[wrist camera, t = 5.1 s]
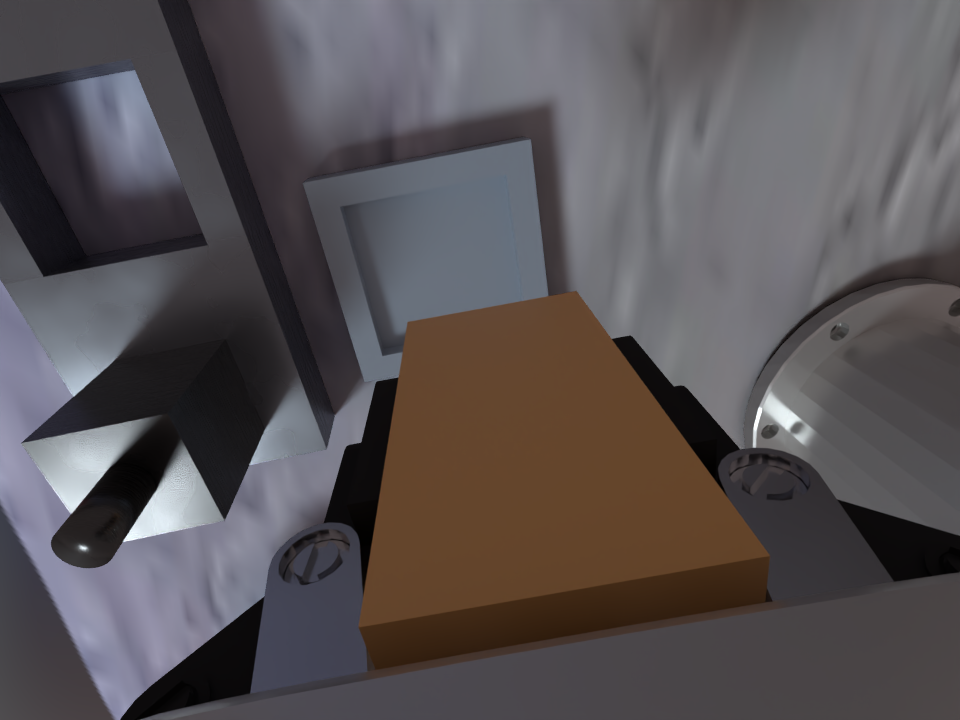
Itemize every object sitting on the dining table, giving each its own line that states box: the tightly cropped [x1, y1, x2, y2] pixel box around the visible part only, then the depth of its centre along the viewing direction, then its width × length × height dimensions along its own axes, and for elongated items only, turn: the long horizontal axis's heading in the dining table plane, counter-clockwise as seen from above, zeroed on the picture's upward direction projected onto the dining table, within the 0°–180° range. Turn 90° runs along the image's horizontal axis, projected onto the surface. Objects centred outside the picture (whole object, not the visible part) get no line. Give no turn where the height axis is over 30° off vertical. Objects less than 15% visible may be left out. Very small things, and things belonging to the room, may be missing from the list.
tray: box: [303, 137, 548, 382], centre depth 20 cm, size 8×8×1 cm
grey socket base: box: [0, 0, 335, 568], centre depth 15 cm, size 16×8×10 cm, turn 9°
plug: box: [358, 291, 770, 670], centre depth 9 cm, size 4×4×9 cm
